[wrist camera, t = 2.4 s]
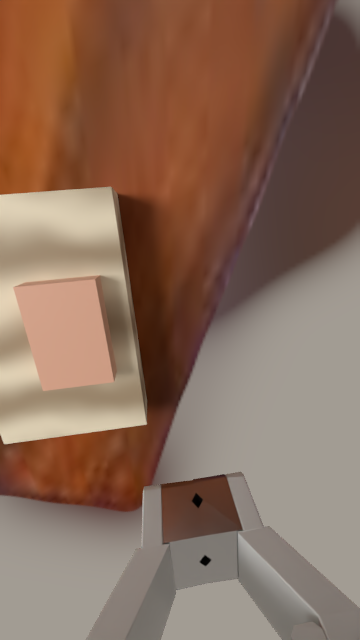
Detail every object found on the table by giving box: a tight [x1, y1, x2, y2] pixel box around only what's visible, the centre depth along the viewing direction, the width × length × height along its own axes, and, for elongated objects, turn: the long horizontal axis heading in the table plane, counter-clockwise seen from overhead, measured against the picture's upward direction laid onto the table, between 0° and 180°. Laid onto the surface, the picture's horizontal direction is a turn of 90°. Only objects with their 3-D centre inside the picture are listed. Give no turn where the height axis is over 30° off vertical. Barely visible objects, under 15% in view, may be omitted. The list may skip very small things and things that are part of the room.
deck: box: [0, 187, 147, 444], centre depth 25 cm, size 22×14×4 cm, turn 5°
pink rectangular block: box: [13, 275, 117, 391], centre depth 23 cm, size 9×6×2 cm, turn 5°
